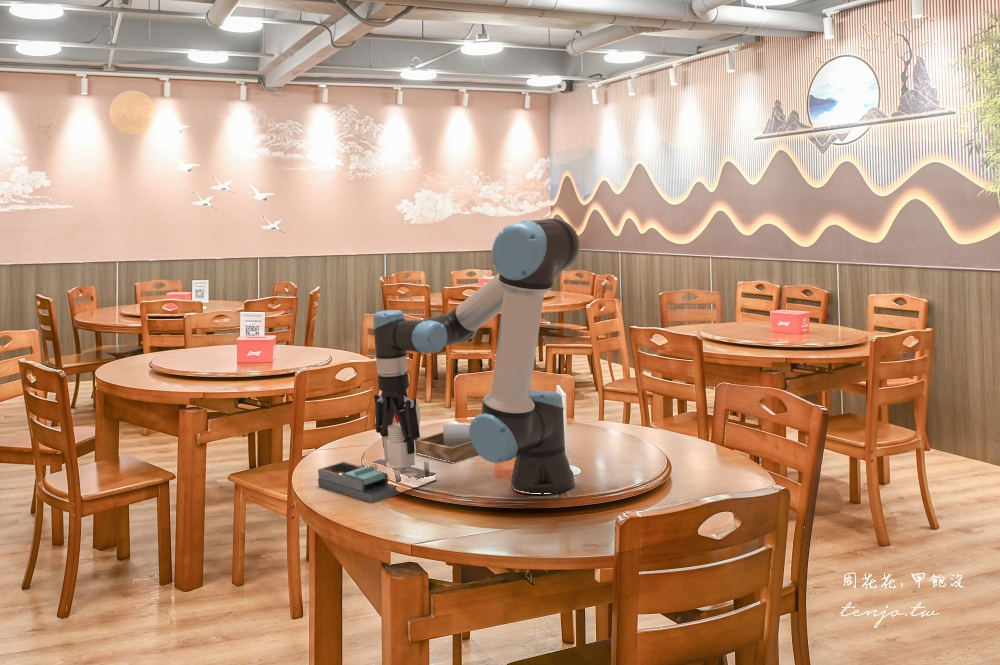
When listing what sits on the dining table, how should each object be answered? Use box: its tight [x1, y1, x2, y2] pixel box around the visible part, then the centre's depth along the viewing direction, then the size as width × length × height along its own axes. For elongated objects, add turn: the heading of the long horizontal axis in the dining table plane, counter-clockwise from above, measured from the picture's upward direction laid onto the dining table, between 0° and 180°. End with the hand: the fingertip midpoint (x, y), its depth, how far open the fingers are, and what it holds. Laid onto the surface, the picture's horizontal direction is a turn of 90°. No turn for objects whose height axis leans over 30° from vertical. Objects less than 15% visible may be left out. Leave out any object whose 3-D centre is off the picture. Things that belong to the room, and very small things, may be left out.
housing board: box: [317, 459, 437, 504], centre depth 226 cm, size 22×20×5 cm
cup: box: [393, 403, 421, 441], centre depth 266 cm, size 8×8×10 cm
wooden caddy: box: [414, 431, 479, 463], centre depth 250 cm, size 15×17×4 cm
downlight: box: [386, 423, 405, 468], centre depth 224 cm, size 8×7×10 cm
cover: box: [344, 466, 385, 485], centre depth 219 cm, size 8×6×2 cm
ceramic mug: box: [442, 423, 471, 447], centre depth 252 cm, size 11×8×8 cm
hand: (399, 463), depth 225 cm, fingers closed on downlight, 7 cm apart
